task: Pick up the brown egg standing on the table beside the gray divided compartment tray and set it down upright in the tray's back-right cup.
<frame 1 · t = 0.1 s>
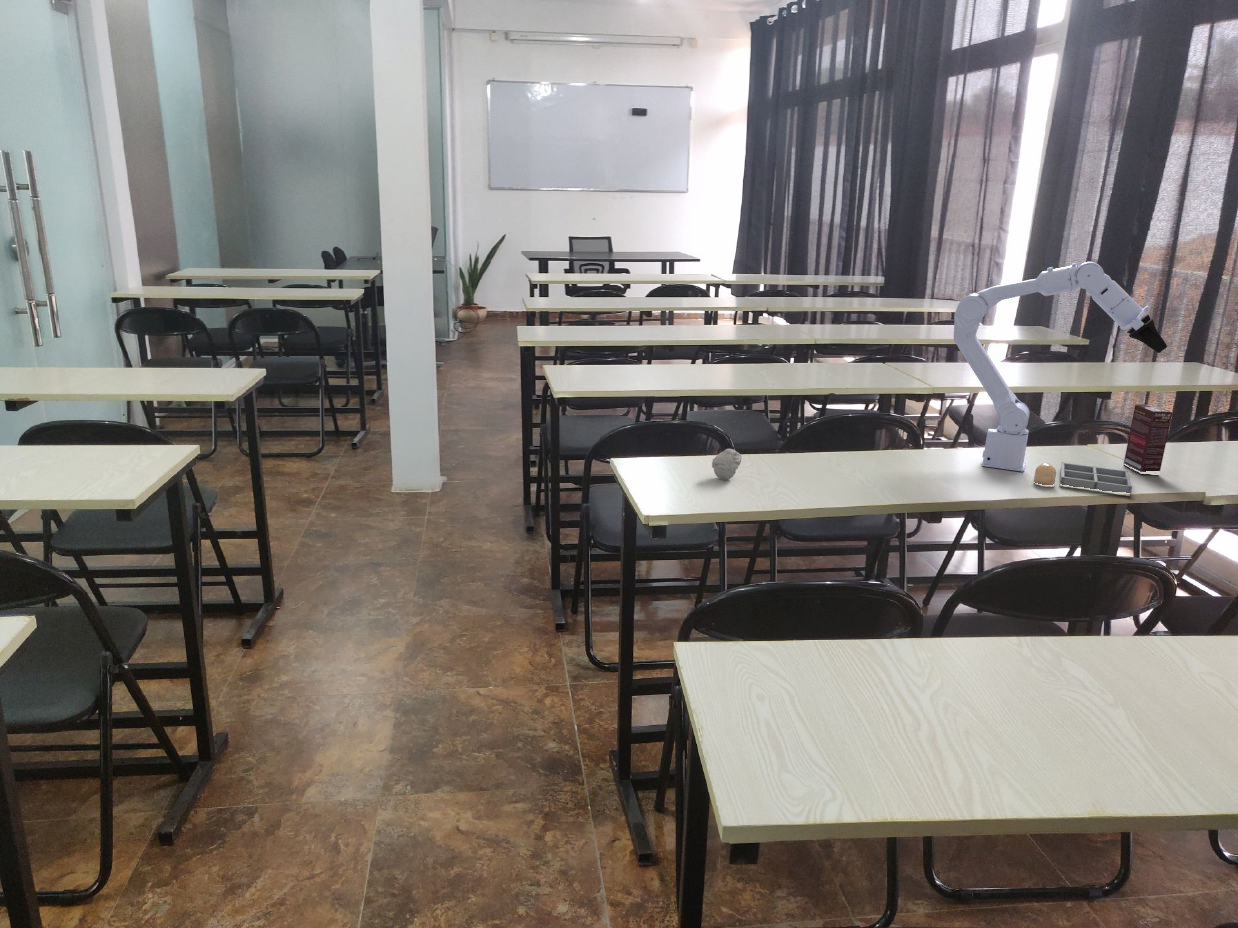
hand: (1161, 347, 199), 32 cm above the table, tool tilted 50°, fingers open, 7 cm apart
grey rounded lump: (725, 479, 202), on the table
supplement box: (1140, 471, 220), on the table
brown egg: (1043, 484, 206), on the table
gray divided compartment tray: (1093, 483, 208), on the table
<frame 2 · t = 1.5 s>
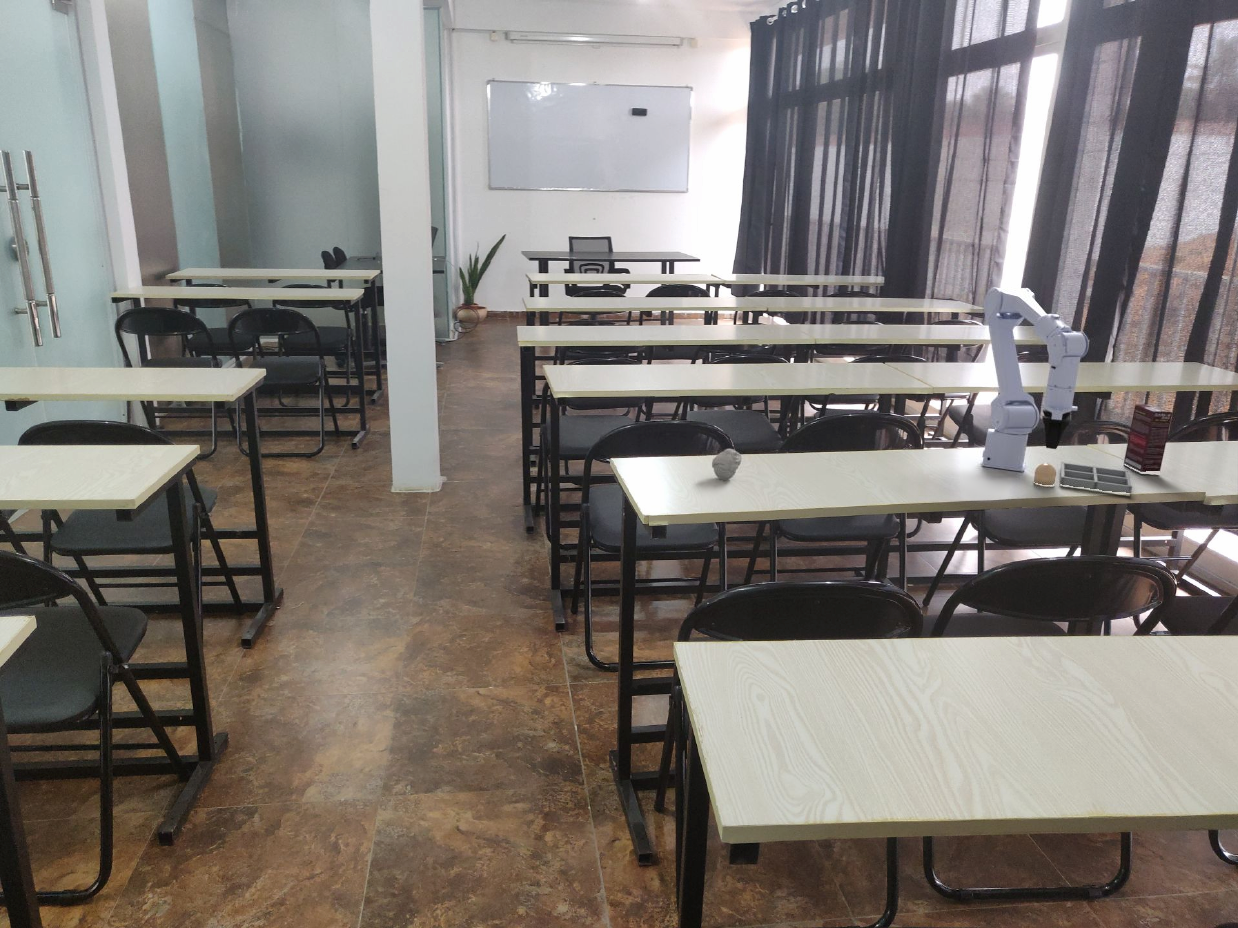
hand: (1051, 444, 203), 10 cm above the table, tool pointing down, fingers open, 7 cm apart
nothing on the table moved.
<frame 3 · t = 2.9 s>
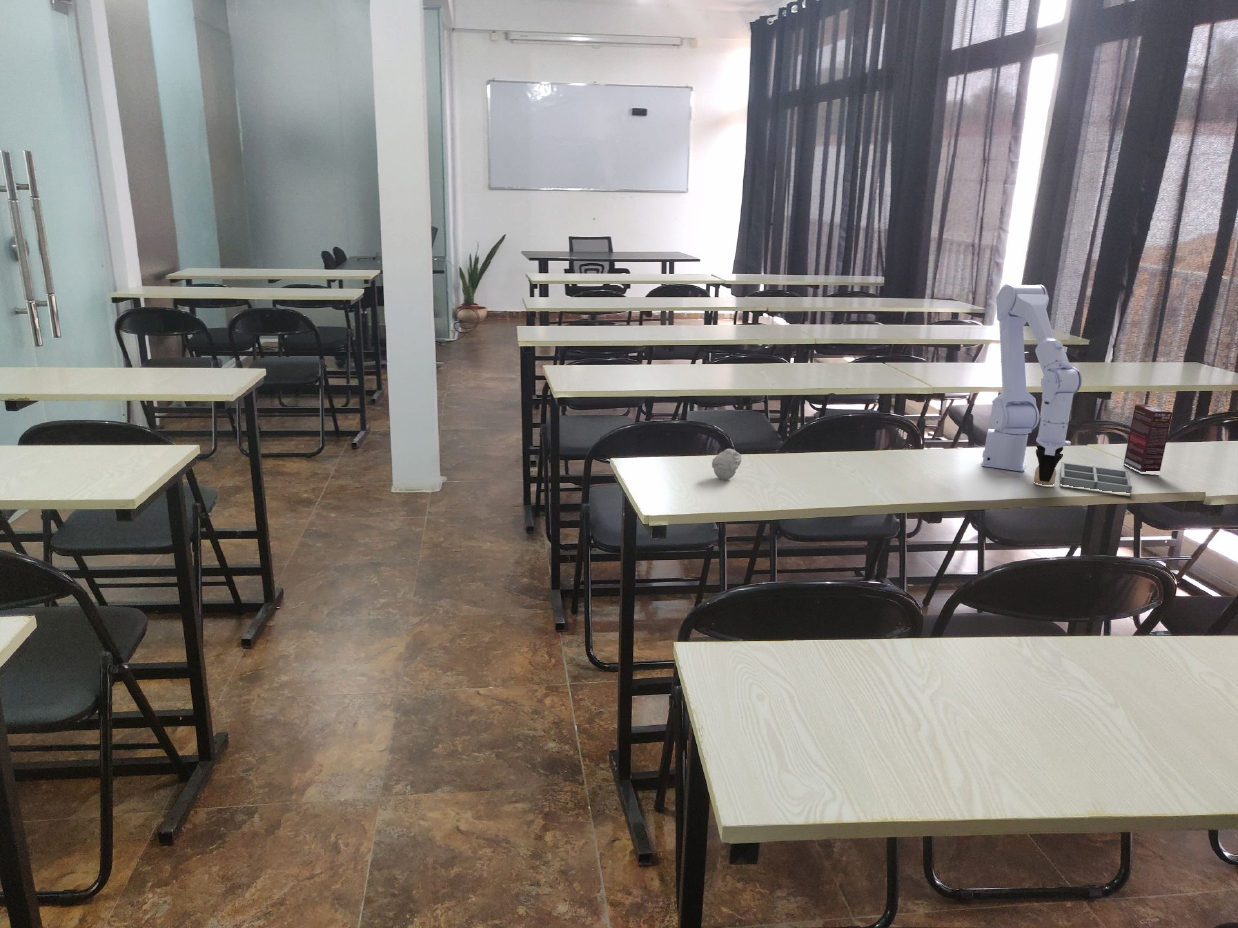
hand: (1044, 478, 205), 1 cm above the table, tool pointing down, fingers closed on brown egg, 4 cm apart
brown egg: (1043, 484, 206), on the table, touching gripper
everything else where it was.
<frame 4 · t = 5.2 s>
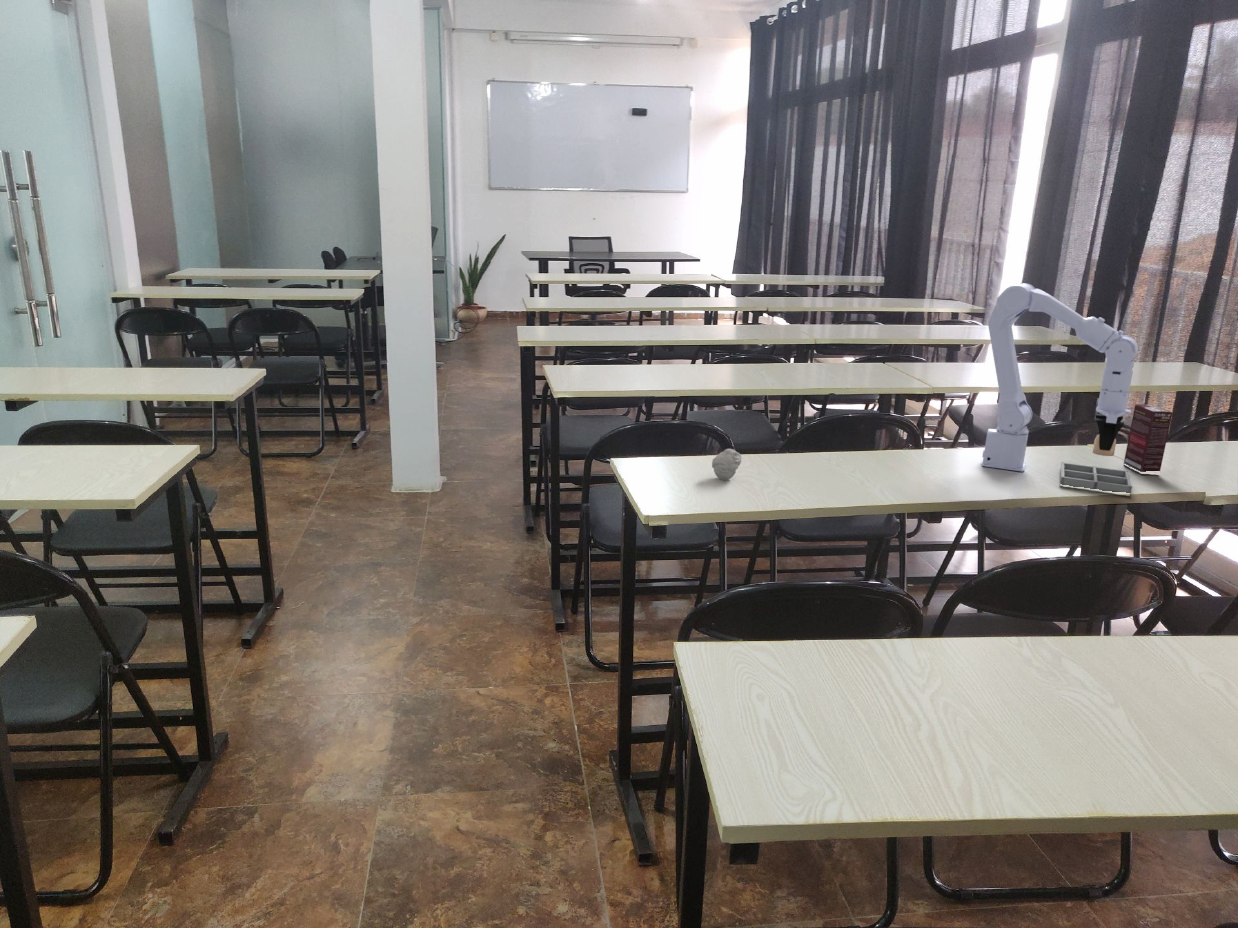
hand: (1104, 447, 206), 8 cm above the table, tool pointing down, fingers closed on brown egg, 4 cm apart
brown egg: (1103, 453, 207), point 7 cm above the table, touching gripper
everything else where it was.
when the fingers open (3 cm above the table, at t = 7.3 s): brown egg stays where it is, resting on gray divided compartment tray.
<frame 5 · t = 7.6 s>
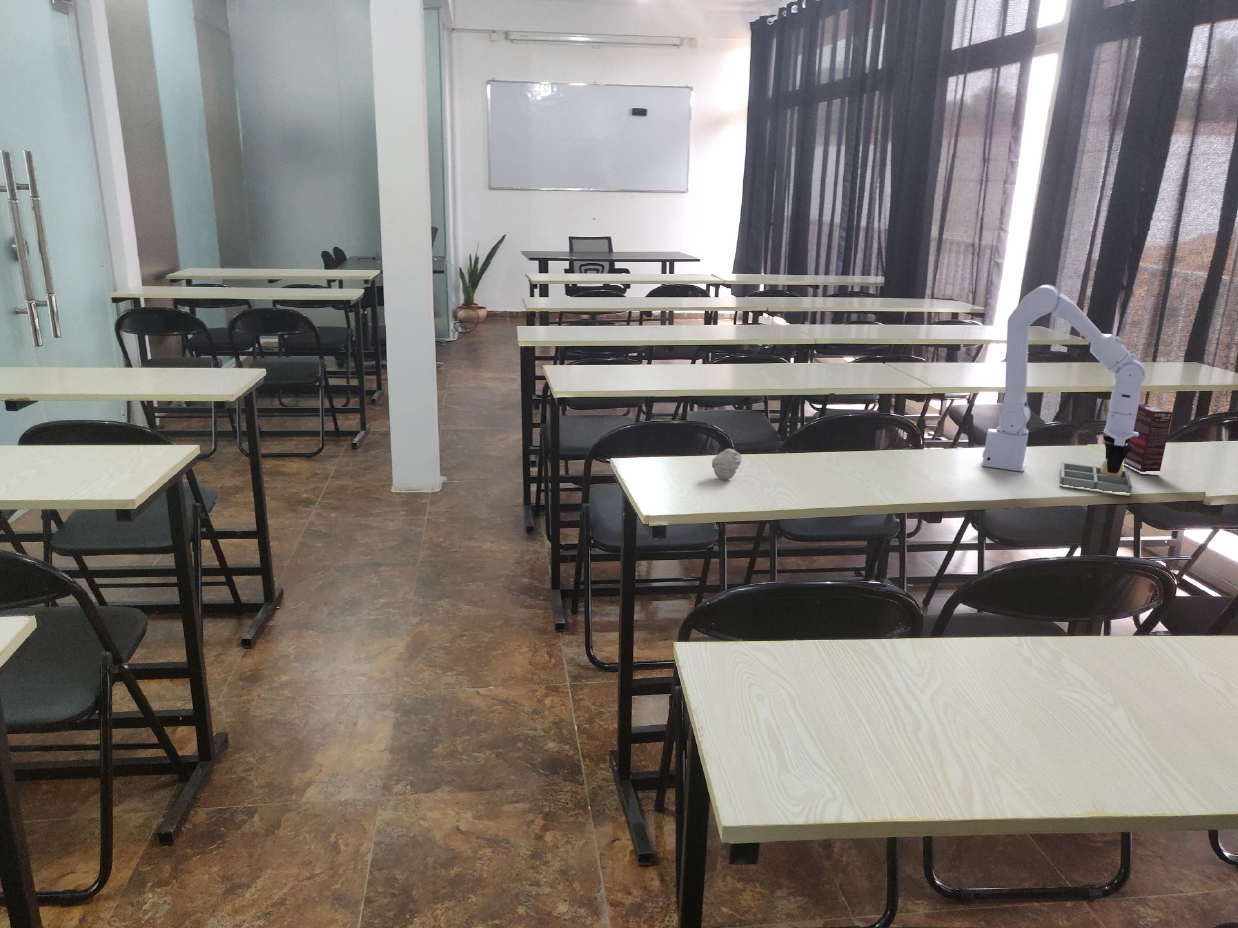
hand: (1111, 468, 208), 3 cm above the table, tool pointing down, fingers open, 7 cm apart
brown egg: (1109, 478, 209), point 1 cm above the table, touching gray divided compartment tray
everything else where it was.
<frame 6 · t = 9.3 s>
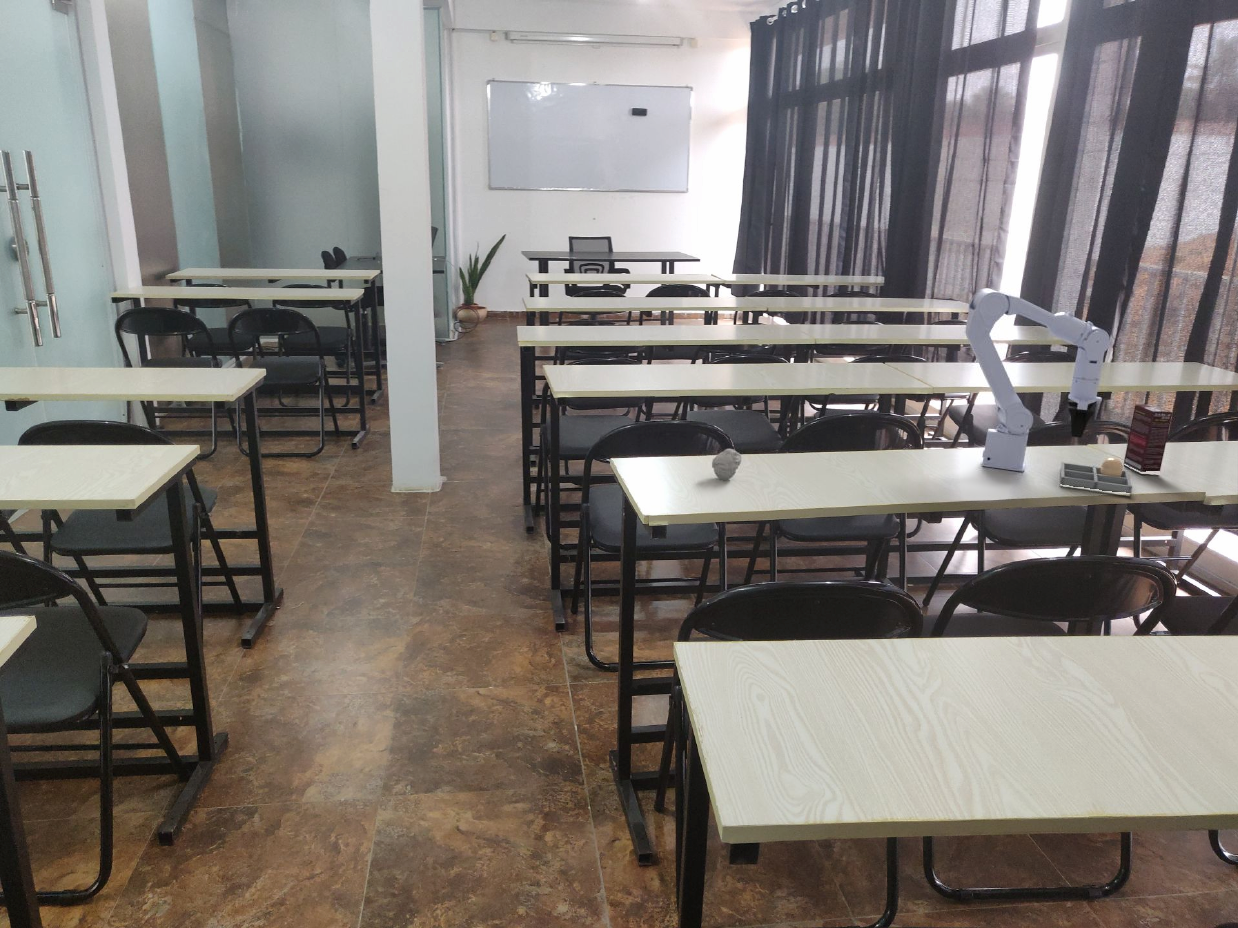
hand: (1076, 433, 215), 9 cm above the table, tool pointing down, fingers open, 7 cm apart
nothing on the table moved.
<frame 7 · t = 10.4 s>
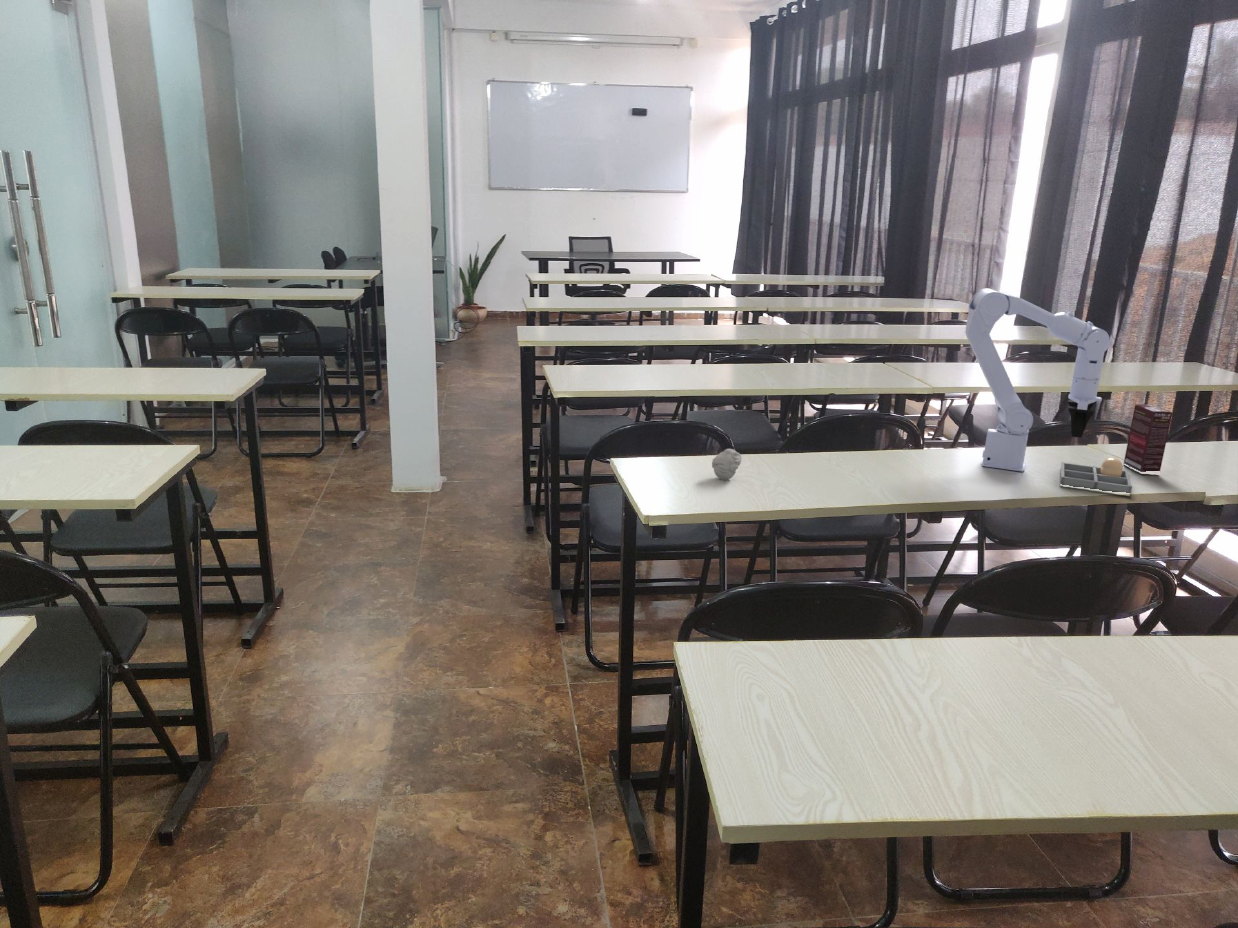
hand: (1076, 433, 215), 9 cm above the table, tool pointing down, fingers open, 7 cm apart
nothing on the table moved.
at the end: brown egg 0.1 cm from the target spot on the gray divided compartment tray, point 0.8 cm above the gray divided compartment tray's base; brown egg tilted 0°; the gripper is holding nothing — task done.
